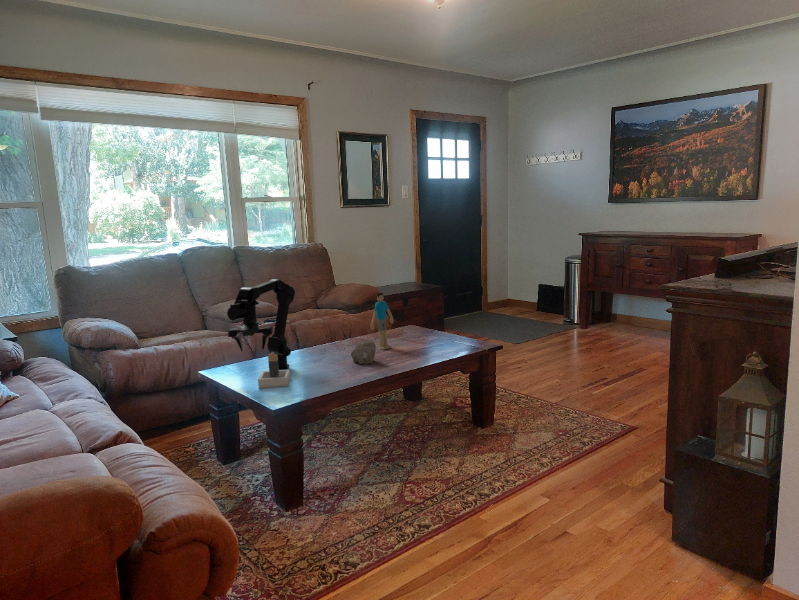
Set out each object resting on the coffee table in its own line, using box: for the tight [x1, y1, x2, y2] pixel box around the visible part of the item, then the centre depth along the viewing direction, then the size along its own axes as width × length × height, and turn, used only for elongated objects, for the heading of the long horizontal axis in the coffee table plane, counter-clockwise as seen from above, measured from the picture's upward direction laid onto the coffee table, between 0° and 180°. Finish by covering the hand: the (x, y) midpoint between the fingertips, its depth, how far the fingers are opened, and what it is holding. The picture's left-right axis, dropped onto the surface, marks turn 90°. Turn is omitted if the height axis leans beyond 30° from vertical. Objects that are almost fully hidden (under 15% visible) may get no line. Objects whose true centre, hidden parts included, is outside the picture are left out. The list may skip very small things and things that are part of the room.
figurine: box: [370, 292, 394, 350], centre depth 284 cm, size 16×6×30 cm, turn 135°
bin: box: [257, 369, 291, 389], centre depth 235 cm, size 12×12×4 cm
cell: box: [267, 352, 280, 378], centre depth 234 cm, size 4×4×13 cm
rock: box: [350, 341, 377, 365], centre depth 261 cm, size 14×10×8 cm
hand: (252, 350), depth 241 cm, fingers open, 9 cm apart
